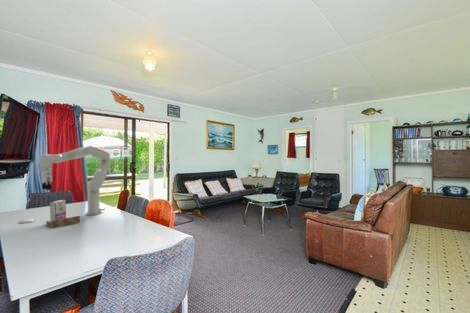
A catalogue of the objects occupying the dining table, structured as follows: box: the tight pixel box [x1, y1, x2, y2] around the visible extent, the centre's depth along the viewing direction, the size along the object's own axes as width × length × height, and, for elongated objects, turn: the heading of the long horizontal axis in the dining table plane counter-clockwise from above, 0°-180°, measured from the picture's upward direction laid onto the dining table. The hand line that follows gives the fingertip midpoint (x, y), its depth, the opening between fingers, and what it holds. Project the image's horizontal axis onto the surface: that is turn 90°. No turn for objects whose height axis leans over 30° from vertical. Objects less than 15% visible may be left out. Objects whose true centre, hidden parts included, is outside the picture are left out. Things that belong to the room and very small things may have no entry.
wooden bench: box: [46, 215, 81, 228], centre depth 183 cm, size 18×14×5 cm
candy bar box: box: [49, 199, 67, 222], centre depth 191 cm, size 11×5×16 cm, turn 179°
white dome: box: [18, 218, 37, 224], centre depth 188 cm, size 10×10×1 cm
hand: (46, 189), depth 194 cm, fingers open, 9 cm apart
